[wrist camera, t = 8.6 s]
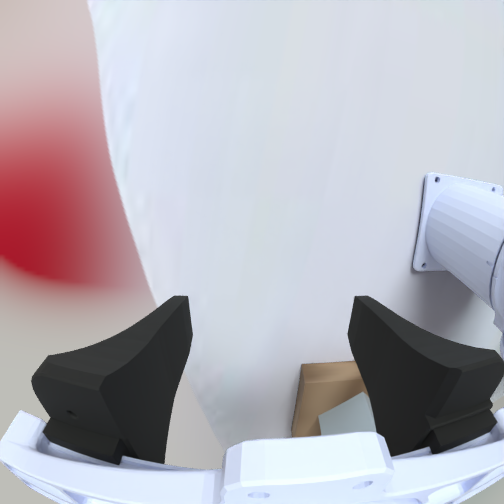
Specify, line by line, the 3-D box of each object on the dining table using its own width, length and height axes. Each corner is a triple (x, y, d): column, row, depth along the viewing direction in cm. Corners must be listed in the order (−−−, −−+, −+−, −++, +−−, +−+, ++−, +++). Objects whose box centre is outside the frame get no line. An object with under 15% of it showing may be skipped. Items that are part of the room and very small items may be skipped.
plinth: (407, 354, 25) (416, 370, 22) (378, 419, 29) (384, 434, 26) (301, 364, 25) (305, 383, 23) (291, 429, 29) (292, 446, 27)
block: (363, 391, 23) (377, 432, 19) (381, 411, 25) (395, 447, 20) (318, 415, 24) (325, 456, 20) (341, 433, 26) (349, 469, 21)
